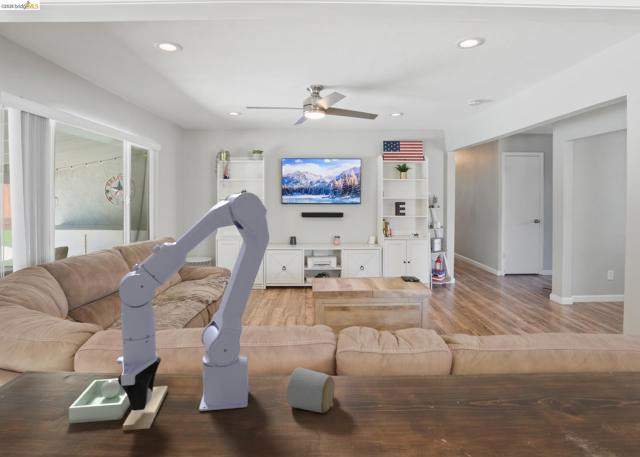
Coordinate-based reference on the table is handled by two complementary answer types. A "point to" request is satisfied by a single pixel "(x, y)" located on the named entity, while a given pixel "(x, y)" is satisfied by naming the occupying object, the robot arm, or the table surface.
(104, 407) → the tub
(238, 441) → the table surface
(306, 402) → the grey cylinder tan end
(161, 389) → the oak board
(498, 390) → the table surface
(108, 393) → the white ball
